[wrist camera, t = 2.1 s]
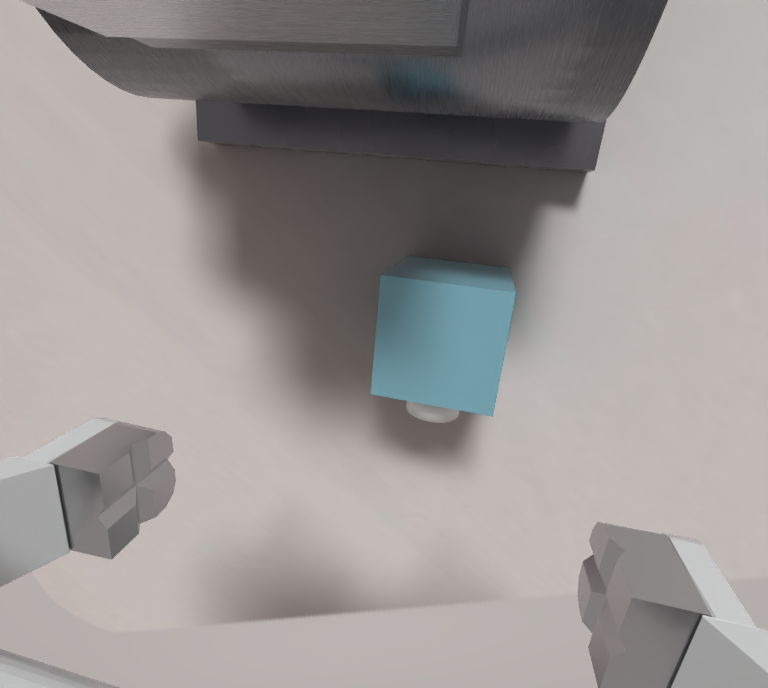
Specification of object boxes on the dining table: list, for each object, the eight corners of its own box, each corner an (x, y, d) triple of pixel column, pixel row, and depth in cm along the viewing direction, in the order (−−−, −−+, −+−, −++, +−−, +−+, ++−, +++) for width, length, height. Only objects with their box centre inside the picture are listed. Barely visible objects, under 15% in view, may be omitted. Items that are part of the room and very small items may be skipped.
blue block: (509, 267, 21) (516, 292, 16) (488, 384, 23) (487, 442, 18) (408, 255, 22) (380, 275, 17) (396, 369, 24) (368, 419, 19)
